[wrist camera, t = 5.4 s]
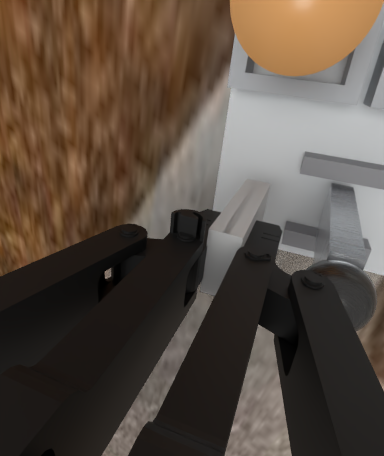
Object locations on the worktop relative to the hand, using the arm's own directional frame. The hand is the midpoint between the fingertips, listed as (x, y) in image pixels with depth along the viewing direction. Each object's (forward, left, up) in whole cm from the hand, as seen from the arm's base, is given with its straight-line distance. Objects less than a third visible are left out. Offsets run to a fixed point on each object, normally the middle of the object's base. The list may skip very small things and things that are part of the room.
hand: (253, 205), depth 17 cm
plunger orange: (0, +9, -1) cm, 9 cm away
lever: (+4, 0, -3) cm, 6 cm away
